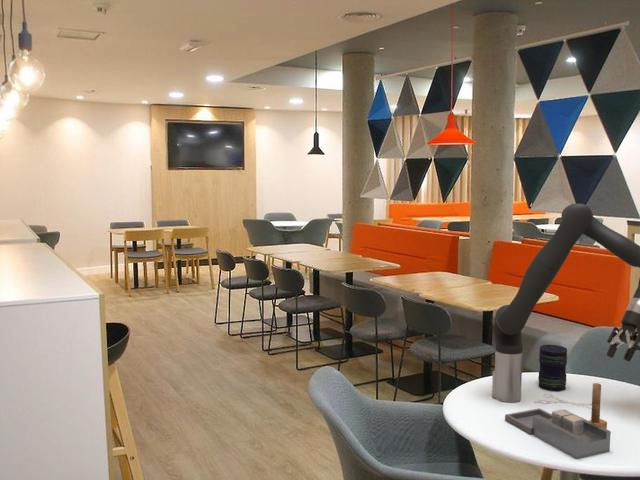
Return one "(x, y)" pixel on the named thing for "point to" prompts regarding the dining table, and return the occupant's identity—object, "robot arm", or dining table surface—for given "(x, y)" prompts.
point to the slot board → (573, 437)
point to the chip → (573, 424)
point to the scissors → (559, 401)
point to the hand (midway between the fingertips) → (617, 358)
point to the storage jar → (552, 368)
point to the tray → (526, 419)
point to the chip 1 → (559, 417)
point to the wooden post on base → (597, 406)
